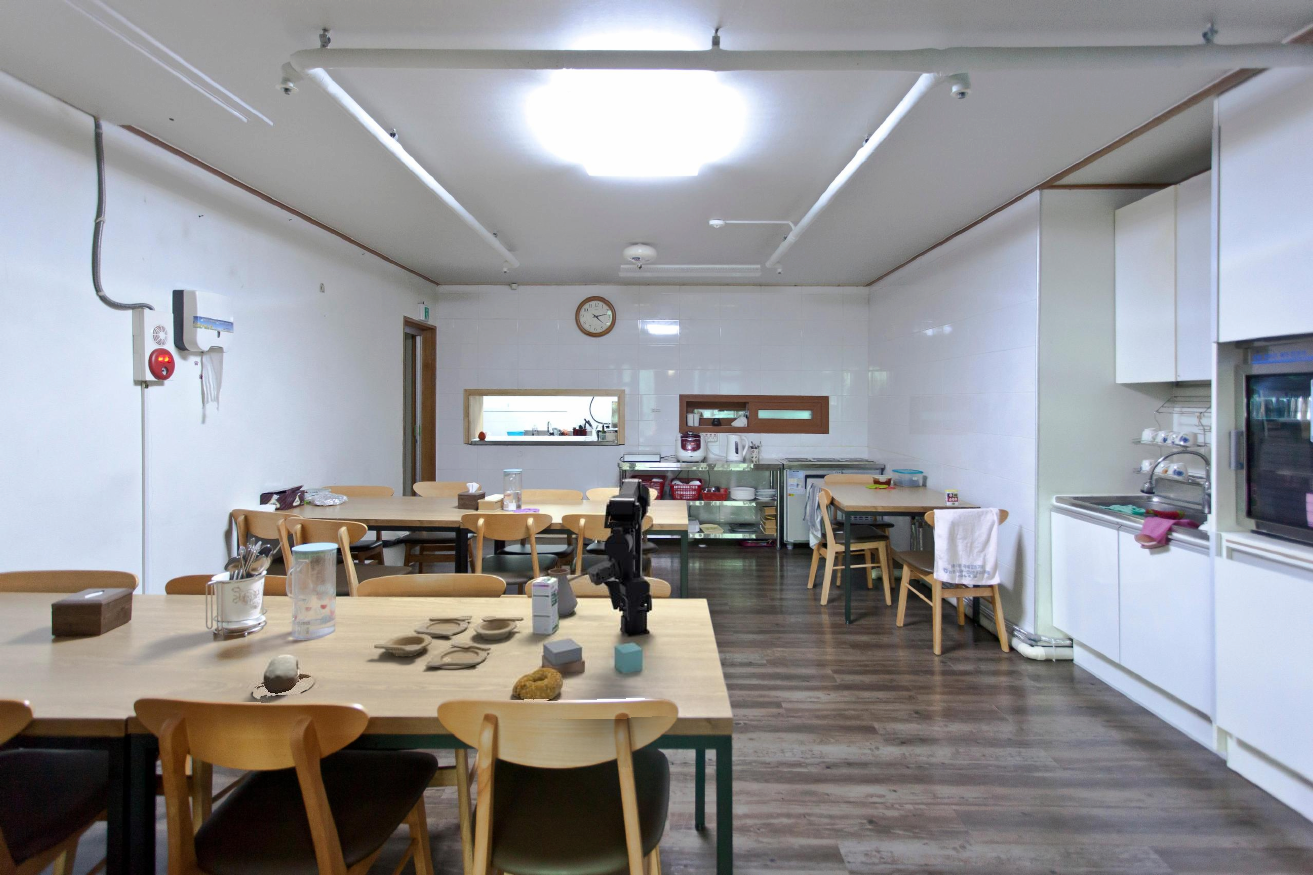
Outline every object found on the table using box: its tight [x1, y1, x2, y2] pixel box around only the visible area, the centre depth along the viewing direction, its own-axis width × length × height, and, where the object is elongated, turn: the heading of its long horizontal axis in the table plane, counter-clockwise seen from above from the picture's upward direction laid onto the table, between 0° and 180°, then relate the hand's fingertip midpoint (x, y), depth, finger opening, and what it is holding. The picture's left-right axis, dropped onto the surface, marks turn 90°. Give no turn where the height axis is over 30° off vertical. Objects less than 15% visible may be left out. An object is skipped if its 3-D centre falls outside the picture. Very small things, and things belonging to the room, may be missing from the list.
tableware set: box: [373, 615, 524, 670], centre depth 167 cm, size 35×29×4 cm
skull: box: [254, 654, 311, 694], centre depth 140 cm, size 12×10×10 cm
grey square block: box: [542, 637, 583, 666], centre depth 151 cm, size 7×7×3 cm
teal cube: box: [614, 642, 643, 675], centre depth 151 cm, size 5×5×5 cm
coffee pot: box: [547, 568, 589, 617], centre depth 193 cm, size 21×12×15 cm, turn 93°
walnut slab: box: [541, 654, 586, 676], centre depth 151 cm, size 8×8×3 cm
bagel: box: [511, 667, 564, 700], centre depth 137 cm, size 10×11×5 cm
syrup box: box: [531, 576, 560, 636], centre depth 176 cm, size 6×6×14 cm
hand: (622, 614), depth 151 cm, fingers open, 9 cm apart
